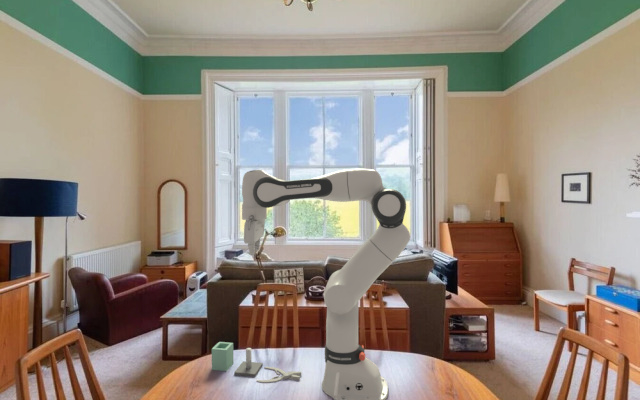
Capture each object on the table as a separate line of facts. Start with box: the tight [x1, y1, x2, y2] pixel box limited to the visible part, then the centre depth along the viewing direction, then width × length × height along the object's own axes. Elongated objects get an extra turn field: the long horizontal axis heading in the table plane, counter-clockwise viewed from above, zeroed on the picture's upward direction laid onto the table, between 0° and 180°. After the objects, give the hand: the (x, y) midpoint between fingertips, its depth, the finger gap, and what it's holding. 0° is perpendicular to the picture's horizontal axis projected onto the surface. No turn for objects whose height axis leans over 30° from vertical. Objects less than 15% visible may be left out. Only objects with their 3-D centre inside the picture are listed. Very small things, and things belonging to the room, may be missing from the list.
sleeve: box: [211, 341, 234, 372], centre depth 127 cm, size 6×6×8 cm
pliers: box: [256, 366, 302, 384], centre depth 120 cm, size 10×2×15 cm
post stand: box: [234, 347, 264, 378], centre depth 124 cm, size 8×8×8 cm
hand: (254, 252), depth 120 cm, fingers open, 8 cm apart
